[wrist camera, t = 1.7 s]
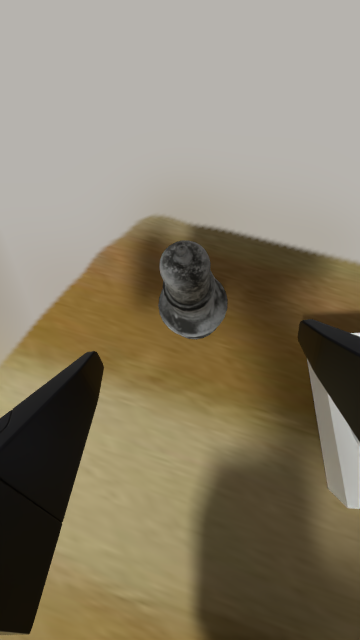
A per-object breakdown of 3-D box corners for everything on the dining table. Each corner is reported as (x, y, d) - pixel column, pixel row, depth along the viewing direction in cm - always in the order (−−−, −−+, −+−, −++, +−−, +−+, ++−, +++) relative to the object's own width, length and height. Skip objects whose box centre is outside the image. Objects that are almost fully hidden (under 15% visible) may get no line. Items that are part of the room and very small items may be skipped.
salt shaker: (212, 278, 22) (219, 176, 10) (232, 331, 20) (268, 280, 9) (159, 297, 22) (107, 217, 10) (175, 350, 21) (136, 326, 9)
